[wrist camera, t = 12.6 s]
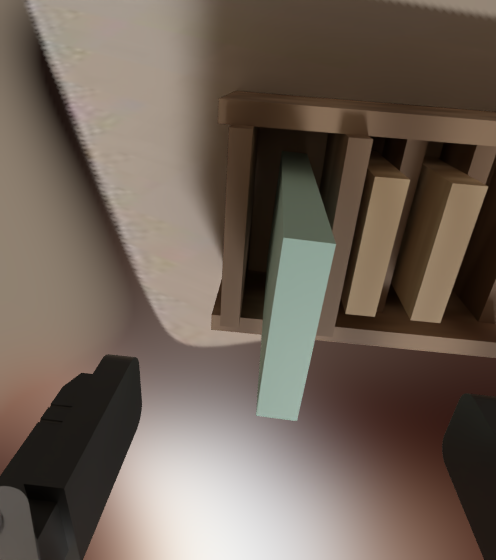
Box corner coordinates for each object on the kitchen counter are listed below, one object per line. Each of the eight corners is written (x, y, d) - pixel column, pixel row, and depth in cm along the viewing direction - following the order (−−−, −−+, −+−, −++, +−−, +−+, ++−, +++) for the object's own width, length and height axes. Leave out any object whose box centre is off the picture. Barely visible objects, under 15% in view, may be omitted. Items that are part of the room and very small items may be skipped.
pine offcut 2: (432, 155, 23) (488, 186, 17) (403, 264, 27) (440, 323, 20) (406, 153, 23) (452, 183, 17) (380, 262, 27) (410, 320, 20)
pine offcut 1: (375, 151, 23) (410, 179, 17) (353, 259, 27) (374, 316, 20) (350, 148, 23) (375, 176, 17) (330, 257, 27) (345, 313, 20)
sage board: (307, 153, 24) (335, 244, 11) (289, 260, 27) (296, 420, 15) (281, 150, 24) (283, 237, 11) (267, 257, 27) (255, 415, 15)
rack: (518, 113, 23) (631, 133, 16) (454, 292, 29) (515, 370, 21) (235, 90, 24) (215, 100, 16) (227, 271, 29) (208, 340, 22)
